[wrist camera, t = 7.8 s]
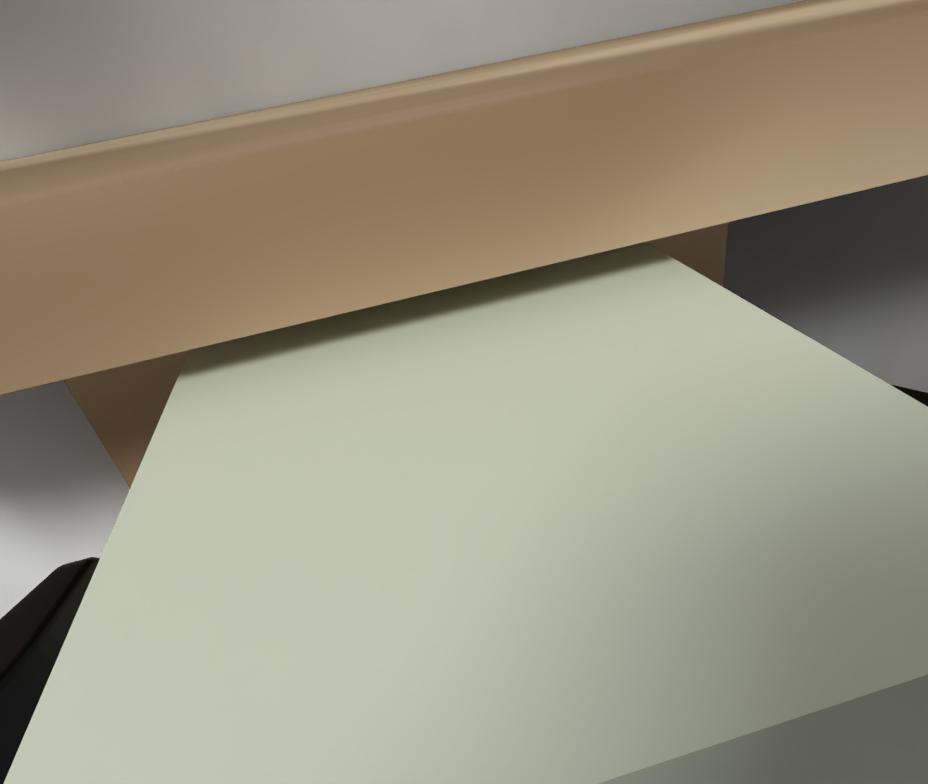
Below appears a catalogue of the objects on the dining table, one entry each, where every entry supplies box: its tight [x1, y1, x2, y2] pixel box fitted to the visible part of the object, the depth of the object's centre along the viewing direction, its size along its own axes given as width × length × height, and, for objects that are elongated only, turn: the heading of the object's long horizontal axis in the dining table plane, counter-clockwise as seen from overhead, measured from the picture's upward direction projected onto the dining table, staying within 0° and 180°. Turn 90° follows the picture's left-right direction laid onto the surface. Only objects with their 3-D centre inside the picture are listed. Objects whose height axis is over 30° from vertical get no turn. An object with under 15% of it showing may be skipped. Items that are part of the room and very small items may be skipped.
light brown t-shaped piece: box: [0, 0, 928, 488], centre depth 9 cm, size 9×22×5 cm, turn 99°
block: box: [3, 242, 928, 784], centre depth 7 cm, size 6×6×7 cm
